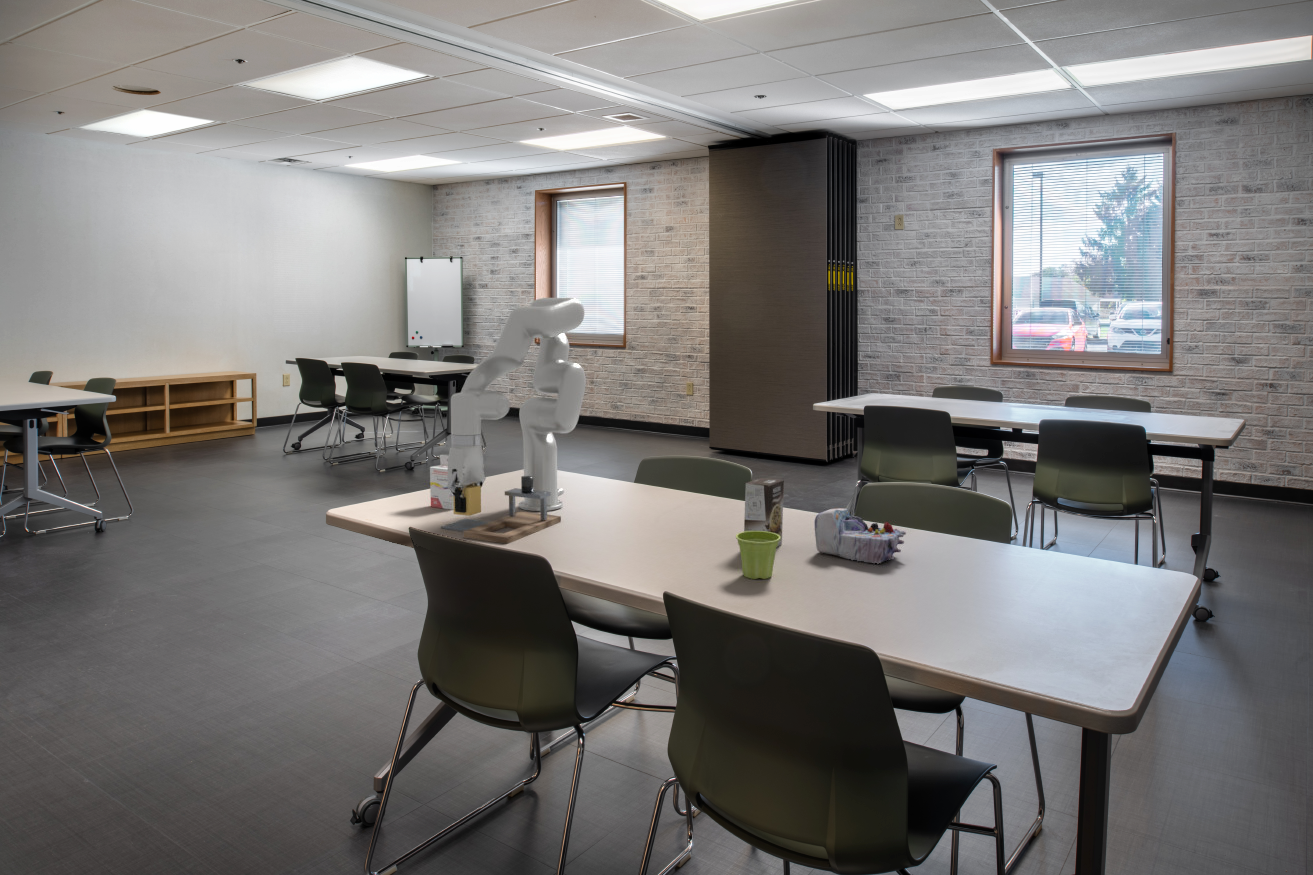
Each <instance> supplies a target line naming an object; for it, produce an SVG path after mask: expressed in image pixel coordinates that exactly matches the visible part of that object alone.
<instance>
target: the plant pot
mask: <svg viewBox="0 0 1313 875" xmlns="http://www.w3.org/2000/svg"><path fill="white" fill-rule="evenodd" d="M735 538H736V539H737V542H738V543H737V544H738V546H739V551H740V559H741V560H740V561H741V569H742V574H743V576H744V577H745V578H748V579H751V580H756V579H762V580H766V579H770V578H771V577H772V575H773V571H774V565H775V563H774V562H775V558H776V557H775V556H776V552H777V545H778V541H779V540H780V536H779V535H778V534H775V533H772V532H766V531H746V532H744V531H741V532H739V533H737V534H736V535H735Z"/></svg>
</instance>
